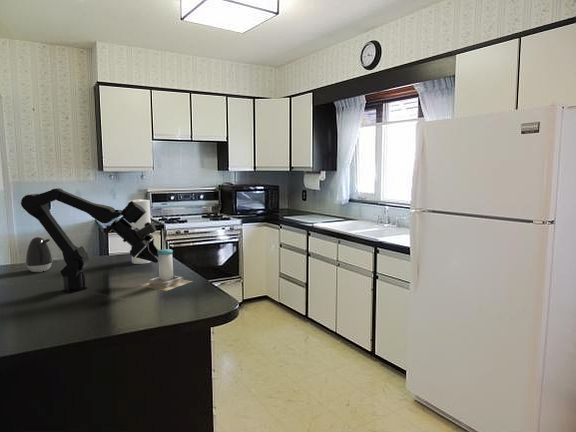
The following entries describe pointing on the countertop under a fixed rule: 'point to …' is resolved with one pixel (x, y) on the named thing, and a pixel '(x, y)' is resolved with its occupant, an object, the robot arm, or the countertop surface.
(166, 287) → the housing
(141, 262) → the cylinder container
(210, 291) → the countertop surface
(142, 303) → the countertop surface
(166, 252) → the white tall cylindrical piece
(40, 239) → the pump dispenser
